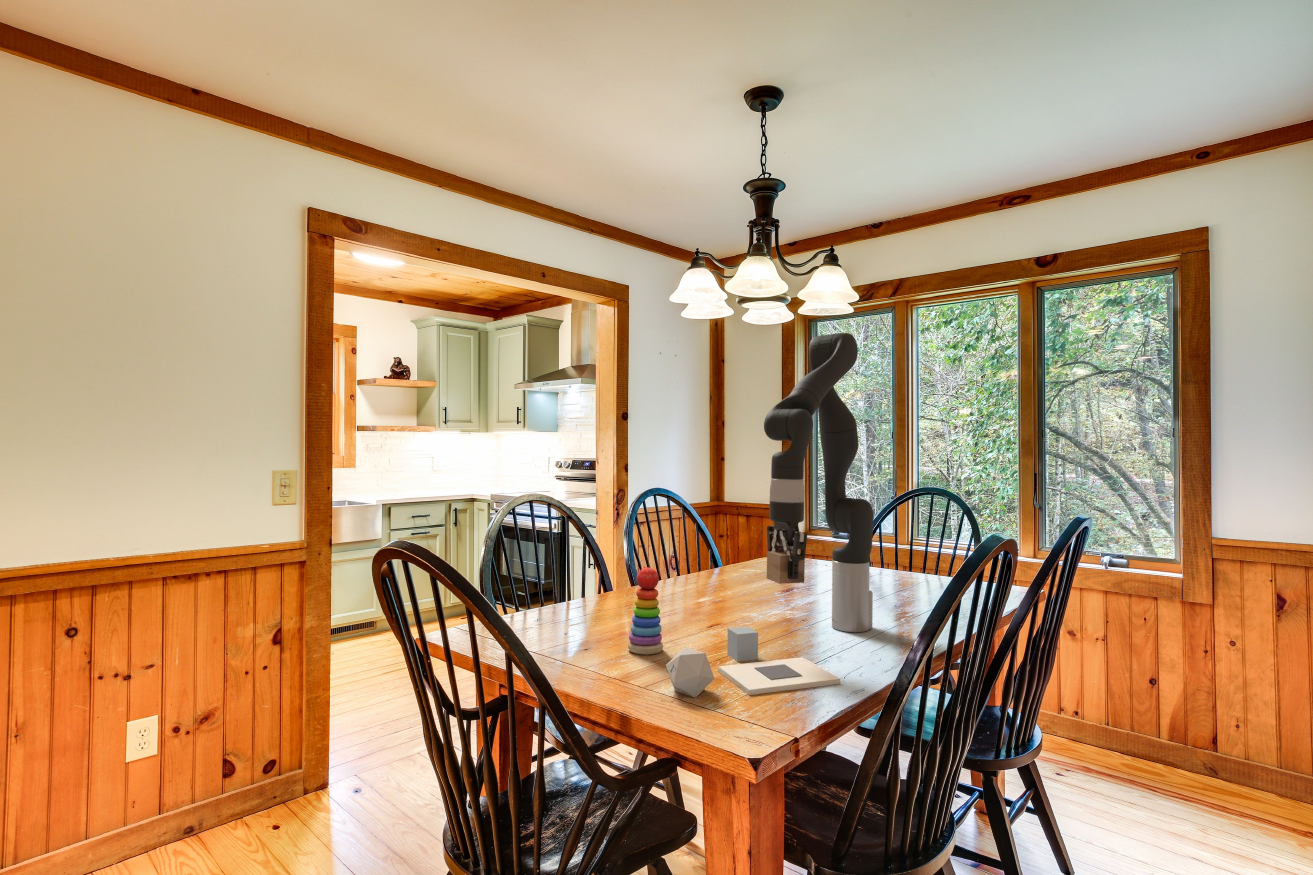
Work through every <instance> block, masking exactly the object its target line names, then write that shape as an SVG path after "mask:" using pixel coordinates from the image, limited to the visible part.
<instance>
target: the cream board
mask: <svg viewBox="0 0 1313 875" xmlns="http://www.w3.org/2000/svg"><path fill="white" fill-rule="evenodd" d="M717 669H718V672H719V673H720V674H721V675H722V676H724V677H725V678H727V679H728V680H729V681H730V682H731V683H733V685H735V686H737V687H738V688H739V689H741V690H742V691H743V692H744V693H746V694H747V695H748V696H752V695H753V696H754V695H760V694H761V695H762V694H767V693H768V694H769V693H777V692H785V691H786V692H787V691H792V690H801V689H808V688H816V687H824V686H825V687H827V686H831V685H838V684H839V685H840V684H841V678H840V677H838V676H836V674H833V673H831V672H830V671H828V670H826V669H824V668H822V666H818V665H817V664H815V663H813V661H810V660H808V659H807V658H805V657H794V658H793V657H792V658H784V659H783V658H782V659H775V660H773V659H772V660H765V661H758V662H757V661H756V662H747V663H746V662H745V663H738V664H729V665H728V664H727V665H721V666H718V668H717Z"/></svg>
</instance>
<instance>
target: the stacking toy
mask: <svg viewBox="0 0 1313 875" xmlns="http://www.w3.org/2000/svg"><path fill="white" fill-rule="evenodd" d="M659 580H660V576H659V573H658V571H656V570H655V569H654V568H652V567H644V568H641V569H640V570H639V571H638V573H637V575H636V582H637V585H638V586H639V587H640V588H638V589H637V590H636V592H635V594H636V597H637V598H635V600H634V605H635V607H634V608H633V613H634V615H633V616H632V619H631V621H632V625H631V626H630V633H629V635H628V640H629V642H628V644H627V649H628V650H629V651H630V652H631V653H633V654H637V655H643V656H645V655H646V656H647V655H655V654H659V653H660V652H661V651H662V650H663V648H664V644H663V642H662V639H663V636H662V634H661V633H662V630H663V628H662V626H661V624H660V623H661V617H660V616H659V615H660V614H661V610H660V607H659V599H658V596H659V591H658V590H657V589H656V587H657V586H658V584H659V583H660V582H659Z"/></svg>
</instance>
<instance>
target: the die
mask: <svg viewBox="0 0 1313 875" xmlns="http://www.w3.org/2000/svg"><path fill="white" fill-rule="evenodd" d="M710 664H711V663H709V659H708V657H707V654H706V652H703V651H700V650H696V649H692V648H689V647H684V648H683V649H682V650H680V652H678V653H676V655H675V656H674V657H673V658H672V659H671V660H670V661H669V662H668V663H666V664H665V667H666V670H667V673H668V676H669V678H670V681H671V683H672V687H673V690H674V691H675V692H678V693H681V694H683V695H686V696H689V697H693V698H696V697H697V696H699V695H700V694H701V693H702V692H703V690H705V689H706V688H707V687H708V686H709V685H710V684H711V683H712V682H713V681H714V680H715V676H714V673H713V671H712V667H711V665H710Z"/></svg>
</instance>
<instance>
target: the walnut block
mask: <svg viewBox="0 0 1313 875" xmlns="http://www.w3.org/2000/svg"><path fill="white" fill-rule="evenodd" d="M791 553H793V551H791ZM788 562H789V561H788V555H787V553H786V552H785V551H768V550H767V552H766V579H767V580H770V581H771V582H775V583H776V584H779V585H783V584H800V583H801V584H802V583H803V584H804V583H805V574H806V573H805V568H806V567H805V566H806V565H805V564H806V563H805V562H806V558H805V559H804V560H800V561H799V564H798V578H797V579H789V578H788Z"/></svg>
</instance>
